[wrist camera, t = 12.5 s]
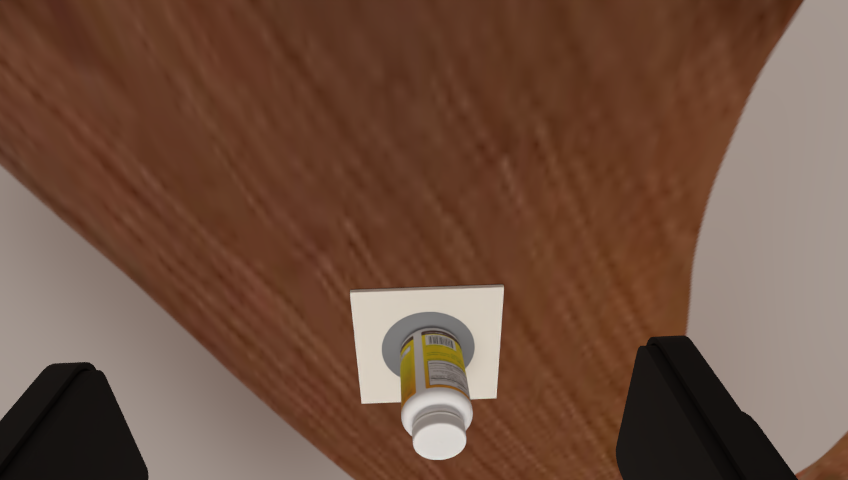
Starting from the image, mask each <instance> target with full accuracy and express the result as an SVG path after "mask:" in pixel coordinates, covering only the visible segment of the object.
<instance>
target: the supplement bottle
mask: <svg viewBox="0 0 848 480" xmlns="http://www.w3.org/2000/svg"><path fill="white" fill-rule="evenodd" d="M400 381H401V418H402V423H403V426H404V428H405V429H406V431H407V432H408V433H409V434H410V435H411V436H412V437H413V446H414V449H415V450H416V452H417V453H418V454H420V455H421V456H423V457H425V458H428V459H432V460H444V459H448V458H451V457H454V456H455V455H457V454H459V453H460V452H461V451H462V450H463V448H464V447H465V444H466V430H467V428H468V427H469V425H470V423H471V421H472V415H473V411H472V404H471V399H470V394H469V388H468V383H467V377H466V371H465V366H464V360H463V354H462V349H461V346H460V343H459V341H458V340H457V338H456V337H455V336H454V335H452V334H451V333H450V332H448V331H446V330H443V329H439V328H425V329H421V330H418V331H416V332H414V333H412V334H411V335H410V336H408V337H407V339H406V340H405V341H404V342H403V344H402V346H401V349H400Z"/></svg>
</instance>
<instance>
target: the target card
mask: <svg viewBox="0 0 848 480" xmlns="http://www.w3.org/2000/svg"><path fill="white" fill-rule="evenodd" d="M503 294H504V286H503V284H502V285H474V286H446V287H417V288H389V289H361V290H350V298H351V307H352V317H353V326H354V335H355V345H356V354H357V363H358V373H359V382H360V392H361V401H362V403H387V402H401V381H400V349H401V346H402V344H403V342H404V341H405V340H406V339H407V337H408V336H410V335H411V334H412V333H414V332H416V331H418V330H421V329H425V328H439V329H443V330H446V331H448V332H450V333H451V334H452V335H454V336H455V337H456V338H457V340H458V341H459V343H460V346H461V349H462V354H463V360H464V366H465V371H466V377H467V383H468V388H469V394H470V399H487V398H496V395H497V381H498V366H499V352H500V337H501V323H502V308H503Z"/></svg>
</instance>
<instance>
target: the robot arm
mask: <svg viewBox="0 0 848 480" xmlns="http://www.w3.org/2000/svg"><path fill="white" fill-rule="evenodd" d="M616 459H617V464H618V467H619V470H620V473H621V475H622V478H623V480H798V479H797V478H796V476H795V475H794V473H793V472H792V471H791V469H790V468H789V467H788V465H787V464H786V463H785V461H784V460H783V458H782V457H781V456H780V454H779V453H778V451H777V450H776V449H775V447H774V446H773V445H772V443H771V442H770V441H769V439H768V438H767V436H766V435H765V434H764V433H763V431H762V429H761V428H760V427H759V425H758V424H757V423H756V422H755V421H754V420H753V419H752V417H751V416H749V415H748V414H746V413H744V412H742V411H741V410H740V408H739V407H738V405H737V404H736V403H735V401H734V400H733V398H732V397H731V396H730V394H729V393H728V391H727V390H726V389H725V387H724V386H723V384H722V383H721V382H720V380H719V379H718V377H717V376H716V375H715V374H714V372H713V370H712V369H711V367H710V366H709V365H708V363H707V362H706V360H705V359H704V358H703V356H702V355H701V353H700V352H699V351H698V349H697V348H696V346H695V345H694V344H693V342H692V341H691V340H690V339H689V338H688V337H686V336H662V337H651V338H650V339H649V340H648V342H647V345H646V346H640V347H639V348H638V351H637V355H636V360H635V364H634V369H633V373H632V378H631V382H630V387H629V391H628V396H627V400H626V405H625V409H624V414H623V418H622V423H621V427H620V432H619V436H618V441H617V446H616ZM0 480H148V470H147V467H146V465H145V462H144V460H143V458H142V456H141V454H140V451H139V449H138V447H137V445H136V443H135V440H134V438H133V436H132V434H131V432H130V429H129V427H128V425H127V423H126V420H125V418H124V416H123V414H122V412H121V409H120V407H119V405H118V403H117V401H116V398H115V396H114V394H113V392H112V390H111V387H110V385H109V383H108V381H107V379H106V377H105V375H104V373H103V372H102V371H100V370H96V368H95V367H94V365H92V364H90V363H88V362H82V363H81V362H79V363H59V364H52V365H49V366H47V367H46V368H45V369H44V370H43V371H42V372H41V373H40V375H39V376H38V377H37V378H36V379H35V380H34V382H33V383H32V384H31V385H30V386H29V388H28V389H27V390H26V391H25V392H24V393H23V395H22V396H21V397H20V398H19V399H18V401H17V402H16V403H15V404H14V405H13V407H12V408H11V409H10V410H9V411H8V412H7V414H6V415H5V416H4V417H3V418H2V420H1V421H0Z"/></svg>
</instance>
